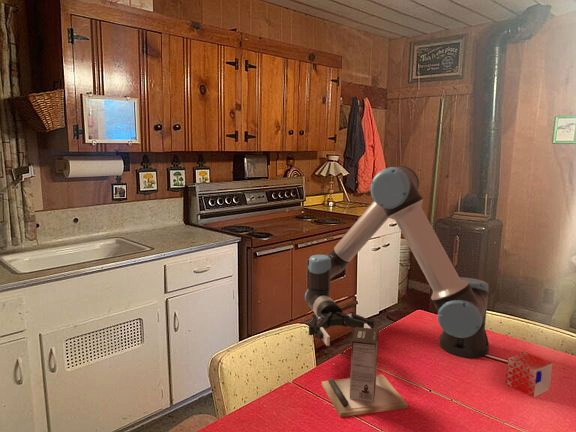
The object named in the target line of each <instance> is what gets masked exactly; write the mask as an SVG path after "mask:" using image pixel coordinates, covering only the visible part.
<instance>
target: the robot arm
mask: <svg viewBox="0 0 576 432" xmlns="http://www.w3.org/2000/svg"><path fill="white" fill-rule="evenodd" d="M420 183H421V182H420V179H419V176H418V174H417V172H416V171H415V170H413V168H410V167H409V166H406V165H398V166H391V167H386V168H384V169H382V170H380V171H379V172H378V173H376V175H374V177H373V179H372V181H371V184H370V195H371V197H372V198H371V199H373V202H371V204H370V205H369V206H367V208H366V210H365V211H364V212H363V213H362V214H361V215H360V217H358V219H357V221H355V223H354V224H353V225H352V226H351V227H350V229H348V230H347V232H346V233H345V234H344V236H343V237H341V239H340V240H339V241H338V242H337V244H336V245H335V246H334V247H333V249H331V251H330V252H329V253H328V254H327V255H326V254H313V255H311V256H310V257H309V259H308V266H307V269H308V276H307V277H308V282H307V283H308V285H307V286H308V288H307V289H306V291H305V293H304V300H305V302H306V304H307V306H308V307H309V308H310V310H312V312H313V313H314V314H312V315H311V322H310V323H309V326H308V335H309V336H313V335H315V336H314V337H315V338H316V339H320V340H322V341H323V343H324V345H325V346H326V347H330V344H331V343H330V337H331V336H330V335H329V334H328V332H327V331H326V329H329V328H330V327H335V326H339V327H340V326H342V327H344V328H348V327H351V328H353V329H355V327H360V328H371V329H375V328H374V327H375V321H374V320H372V319H370V318H366V317H364V316H361V315H360V314H356V313H355V312H354V311H350V312H349V314H346V313H345V312H343V311H342V308H341V307H340V306H339V304H337V303H336V301H334V300H333V299H332V297H331V295H330V294H331V279H333V278H334V277H336V276H337V275H339V274H341V273H342V272H343V271H344V270H346V269H347V267H348V264H350V262H351V261H352V260H353V259H354V257H355V256H356V255H357V254H358V253H359V252H360V251H361V249H362V248H363V247H364V246H365V245H366V244H367V243H368V242H369V241H370V240H371V238H372V237H373V236H374V235H376V232H378V231H379V229H380V228H382V226H383V225H384V223H386V222H387V220H389V219H391V220H394V221H395V222H396V225H397V226H398V228H399V230H400V232H401V233H402V236H403V237H404V239H405V241H406V243H407V246H408V247H409V249H410V251H411V252H412V254H413V256H414V258H415V260H416V261H417V264H418V265H419V267H420V269H421V271H422V273H423V274H424V276H425V278H426V281H427V282H428V284H429V286H430V288H431V290H432V294H431V296H430V297H431V300H432V303H433V304H434V306H435V309H436V310H437V321H438V325H439V326H440V327H441V329H442V332H441V334H440V335H439V342H438V344H439V346H440V348H441V349H442V350H443V351H446V352H448V353H449V354H452V355H455V356H457V357H458V356H459V357H463V358H469V359H470V358H472V359H473V358H474V359H475V358H482V357H485V356H487V355H488V354H489V352H490V344H489V343H490V342H489V339H488V334H487V331H486V320H487V319H486V318H487V310H488V309H487V307H488V300H489V299H488V297H489V293H490V290H489V283H487V281H485V280H481V279H478V278H472V277H471V278H470V277H464V276H463V277H460V276H459V274H458V272H457V270H456V269H455V267H454V265H453V263H452V261H451V259H450V258H449V256H448V254H447V252H446V250H445V249H444V247H443V245H442V243H441V241H440V239H439V237H438V235H437V234H436V232H435V229H434V228H433V226H432V224H431V222H430V221H429V219H428V217H427V215H426V213H425V211H424V210H423V208H422V205H423V202H424V199H423V196H422V195H421V193H420V191H419V190H420Z"/></svg>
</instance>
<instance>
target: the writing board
mask: <svg viewBox="0 0 576 432" xmlns="http://www.w3.org/2000/svg"><path fill="white" fill-rule="evenodd" d="M321 386H322V388H323V390H324V391H325V393H326V395H327V396H328V398H329V400H330V402H331V404H332V405H333V407H334V408H335V410H336V412H337V414H338V416H339V417H340V418H342V417H343V418H344V417H350V416H357V415H358V416H359V415H367V414H373V413H375V414H376V413H380V412H381V413H382V412H387V411H388V412H390V411H395V410H403V409H408V408H409V404H408V402H406V400H405V399H404V398H403V397H402V396H401V394H400V393H399V392H398V391H397V389H396V388H395V387H394V386H393V385H392V384H391V382H390V381H388V379H387V378H386V377H385V375H384V374H376V388H375V396H374V402H369V401H362V400H355V399H350V377H348V378H341V379H334V378H332V377H331V378H329V379H328V380H323V381H321Z"/></svg>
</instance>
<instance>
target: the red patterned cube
mask: <svg viewBox="0 0 576 432" xmlns="http://www.w3.org/2000/svg"><path fill="white" fill-rule="evenodd" d="M506 367H507V368H506V376H505V377H506V378H505V385H506V386H508V387H511V388H512V389H515V390H516V391H518V392H520V393H522V394H525V395H527V396H529V397H531V398H536V397H538V396H539V395H541V394H544V393H545V392H547V391H549V390H550V386H551V380H552V379H551V377H552V370H553V362H551V361H549V360H547V359H544V358H542V357H539V356H538V355H535V354H532V353H529V352H528V351H521V352H519V353H516V354H515V355H514V354H513V355H512V356H510V357H508V359H507V366H506Z"/></svg>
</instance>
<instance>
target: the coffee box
mask: <svg viewBox="0 0 576 432" xmlns="http://www.w3.org/2000/svg"><path fill="white" fill-rule="evenodd" d="M379 332H380V330H379V329H378V328H374V329H371V328H360V327H355V328H354V331H353V336H352V338H351V339H352V340H351V355H350V358H351V359H350V377H349V378H350V399H355V400H362V401H369V402H374V396H375V388H376V375H377V371H378V370H377V369H378V356H379V355H378V354H379V353H378V351H379Z"/></svg>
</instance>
